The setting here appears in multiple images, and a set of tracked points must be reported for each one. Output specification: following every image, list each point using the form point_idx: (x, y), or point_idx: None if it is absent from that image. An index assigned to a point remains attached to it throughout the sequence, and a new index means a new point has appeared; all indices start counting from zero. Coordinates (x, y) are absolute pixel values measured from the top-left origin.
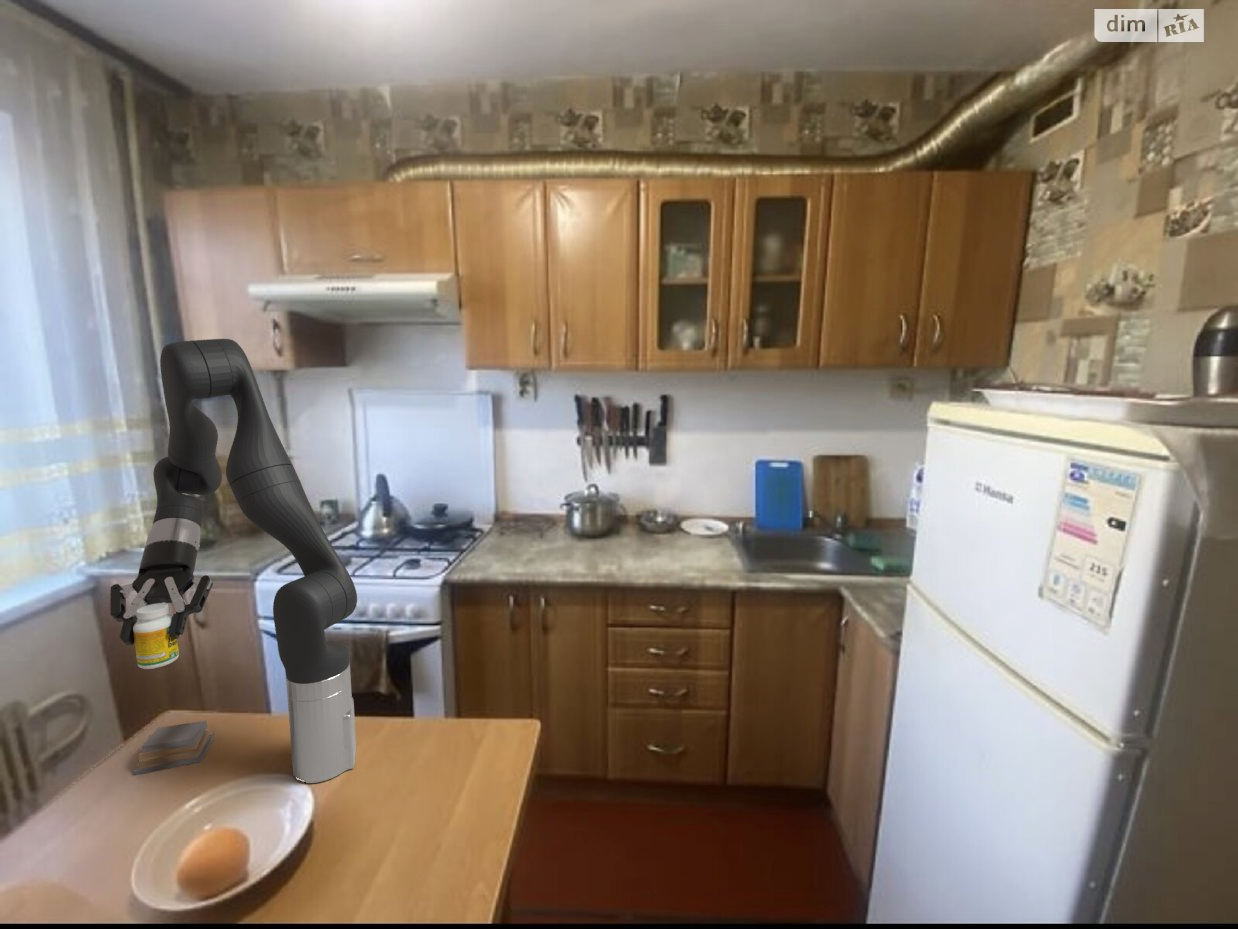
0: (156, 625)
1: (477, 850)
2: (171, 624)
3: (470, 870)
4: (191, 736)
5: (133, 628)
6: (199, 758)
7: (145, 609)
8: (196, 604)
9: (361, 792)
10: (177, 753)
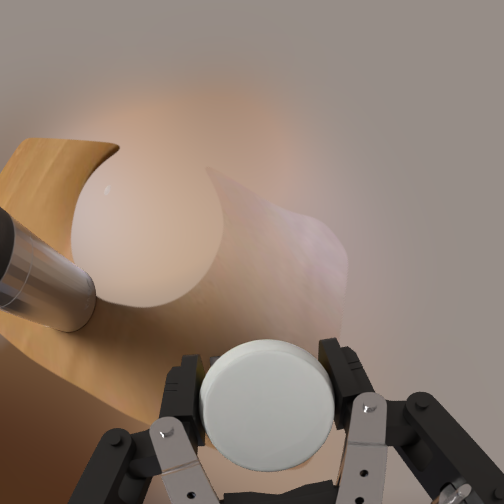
0: (233, 354)
1: (8, 174)
2: (194, 379)
3: (16, 162)
4: None
5: (321, 365)
6: (211, 357)
7: (295, 398)
8: (106, 436)
9: None
10: None
